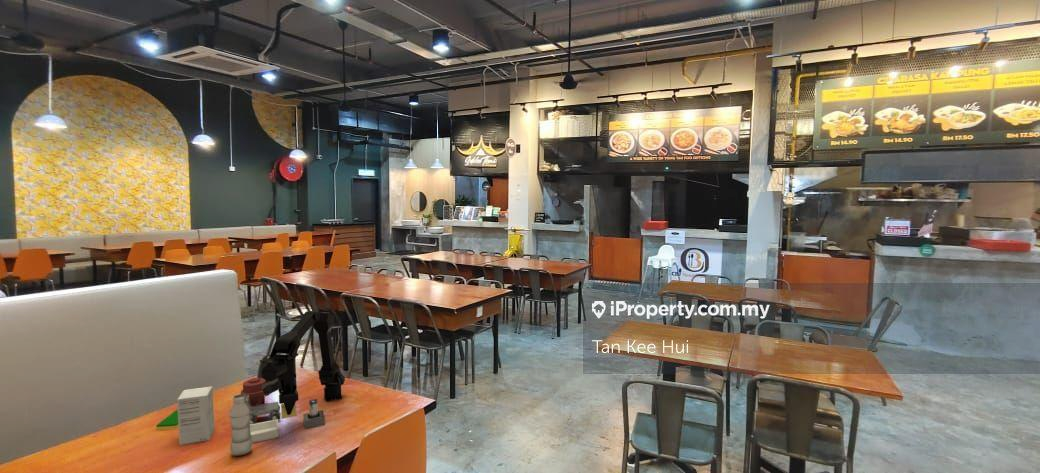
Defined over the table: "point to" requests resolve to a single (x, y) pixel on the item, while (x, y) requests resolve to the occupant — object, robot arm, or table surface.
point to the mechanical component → (254, 391)
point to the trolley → (264, 411)
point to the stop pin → (313, 408)
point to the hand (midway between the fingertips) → (288, 412)
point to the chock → (284, 413)
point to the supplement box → (195, 415)
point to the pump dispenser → (263, 365)
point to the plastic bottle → (240, 426)
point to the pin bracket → (314, 420)
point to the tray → (264, 431)
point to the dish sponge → (169, 422)
